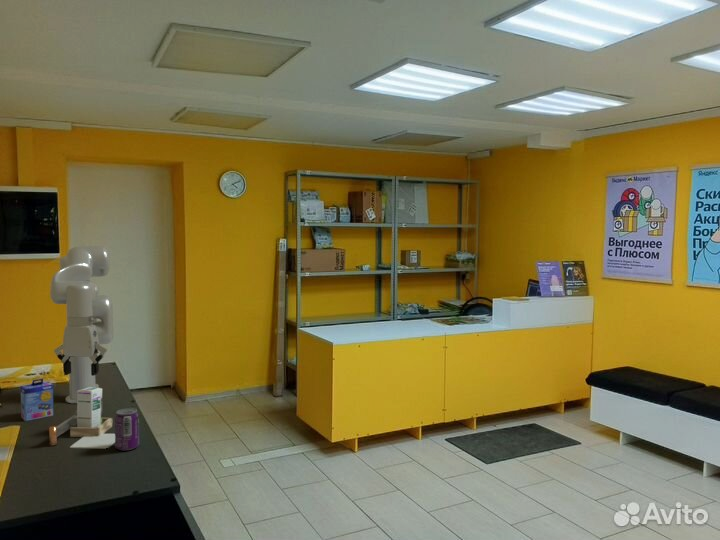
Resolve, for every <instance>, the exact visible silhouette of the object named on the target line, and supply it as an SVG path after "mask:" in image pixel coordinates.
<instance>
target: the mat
mask: <svg viewBox="0 0 720 540" xmlns="http://www.w3.org/2000/svg"><path fill="white" fill-rule="evenodd" d="M113 444H115V433H104V434H101V435H99V436H84V437H80V439H79V440H77V441H76V442H74V443H72V445H70V446H69V448H70V449H104V450H105V449H106V448H108V449H109V448H110V447H111V446H112V445H113ZM106 450H107V449H106Z"/></svg>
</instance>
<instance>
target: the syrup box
mask: <svg viewBox="0 0 720 540" xmlns="http://www.w3.org/2000/svg"><path fill="white" fill-rule="evenodd" d="M76 410H77V427H93V428H97V427H98V426H100V425H101V424H102V418H103V388H101V387H88V388H85V389H82V390H78V391H77V403H76Z"/></svg>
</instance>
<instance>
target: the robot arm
mask: <svg viewBox="0 0 720 540" xmlns="http://www.w3.org/2000/svg"><path fill="white" fill-rule="evenodd" d="M110 265H111V257H110V253H109V251H108V249H106V248H105V247H104V246H97V245H96V246H74V247H72V248H70V249H69V250H68V251H67V253H66V256H62V257H61V258H60V260H59V268H60V270H58V271H57V272H55V273H54V275H53V276H52V278H51V281H50V292H49V293H50V294H49V295H50V300H51V301H52V303H54V304H56V305H66V325H65V327H64V330H63V337H62V338H63V339H62V344H61V345H60V346H58V347H56V348H55V349H54V350H53V352H54V354H55V355H56V356H57V359H59V360H60V363H62V368H63V369H62V370H63V371H62V372H63V375H64V376H68V379H69V382H68V383H69V395H67V396H66V397H65V402H66V403H68V404H77V391H78V390H82V389H85V388H88V387H98V388H100V387H99V384H98V383H96V375H97V374H99V371H100V370H99V369H100V363H99V362H101V360H102V359H103V358H104V357H105V355H106V353H107V352H108V349H107V348H105V347H104V346H102V345H107V344H110V343H111V342H113V339H114V309H113V308H114V307H113V302H112V299H111V297H110V296H109V295H105V294H99V288H98V286H97V284H96V283H95V282H93V281H91V280H90V279H91V278H96V277H98V278H100V277H101V278H102V277H106V276H107V275H108V274H109V272H110ZM98 319H99V320H100V321H99V320H98ZM97 320H98V321H97ZM99 352H100V353H99ZM98 354H99V355H98Z"/></svg>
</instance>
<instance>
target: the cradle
mask: <svg viewBox="0 0 720 540" xmlns="http://www.w3.org/2000/svg"><path fill="white" fill-rule="evenodd" d="M112 427H114V417H102V424H101V425H100V426H98V427H97V428H93V427H75V426H73V427H71V428H70V429H69V430H70V431H69V435H70V438H82V437H84V436H99V435H101V434H106V432H107V431H109V430H110V429H111V428H112Z"/></svg>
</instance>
